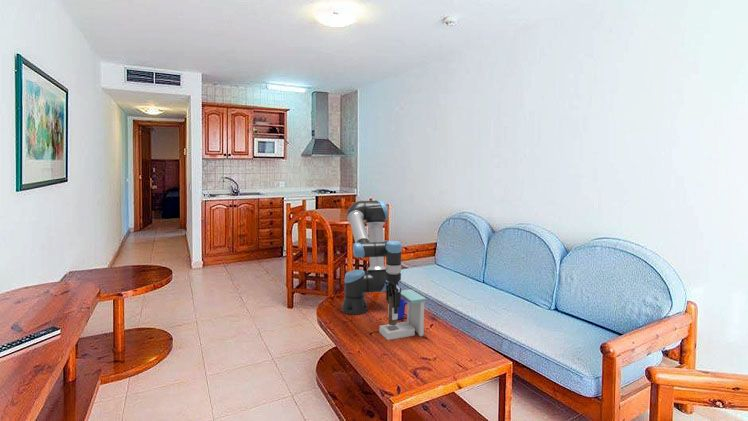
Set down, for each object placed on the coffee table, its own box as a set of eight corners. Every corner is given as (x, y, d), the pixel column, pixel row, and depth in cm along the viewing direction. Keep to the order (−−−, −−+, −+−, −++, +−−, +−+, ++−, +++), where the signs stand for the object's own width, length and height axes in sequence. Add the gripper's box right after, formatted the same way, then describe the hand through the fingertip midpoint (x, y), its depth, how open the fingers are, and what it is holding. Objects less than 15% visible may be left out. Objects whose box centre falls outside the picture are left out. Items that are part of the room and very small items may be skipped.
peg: (387, 322, 202) (387, 296, 201) (394, 321, 204) (394, 295, 202) (390, 325, 199) (391, 298, 197) (398, 324, 200) (398, 297, 199)
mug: (410, 321, 219) (411, 304, 218) (389, 319, 221) (389, 302, 220) (412, 316, 227) (412, 299, 226) (391, 314, 229) (391, 297, 228)
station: (377, 330, 207) (377, 293, 205) (410, 324, 215) (410, 289, 213) (390, 342, 193) (390, 303, 190) (425, 336, 200) (426, 298, 198)
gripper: (379, 269, 204) (379, 312, 207) (394, 277, 189) (393, 325, 192) (392, 267, 207) (392, 311, 210) (408, 276, 192) (407, 322, 195)
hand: (392, 317), depth 201 cm, fingers closed on peg, 4 cm apart
